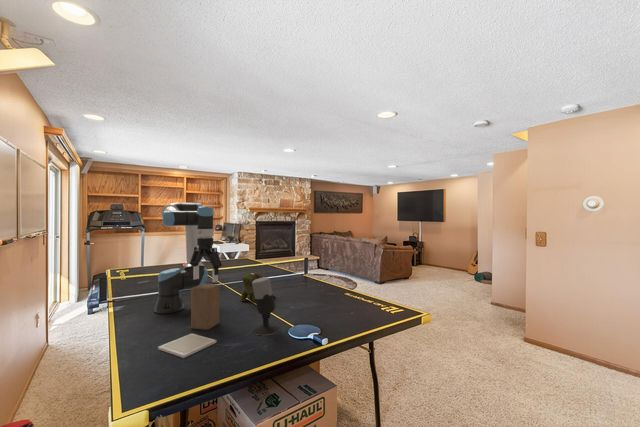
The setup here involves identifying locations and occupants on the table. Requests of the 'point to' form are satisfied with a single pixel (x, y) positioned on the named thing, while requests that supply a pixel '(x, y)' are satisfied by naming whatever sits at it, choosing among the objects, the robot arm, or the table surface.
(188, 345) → the tile
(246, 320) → the table surface
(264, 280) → the microphone
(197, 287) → the wooden block
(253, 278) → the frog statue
